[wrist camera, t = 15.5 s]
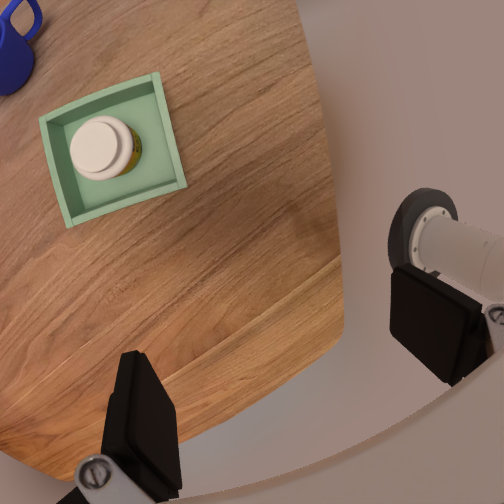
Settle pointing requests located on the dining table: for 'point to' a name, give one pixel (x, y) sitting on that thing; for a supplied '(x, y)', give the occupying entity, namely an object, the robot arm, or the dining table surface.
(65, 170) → the bin
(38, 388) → the dining table surface
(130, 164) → the supplement bottle
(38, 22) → the mug
